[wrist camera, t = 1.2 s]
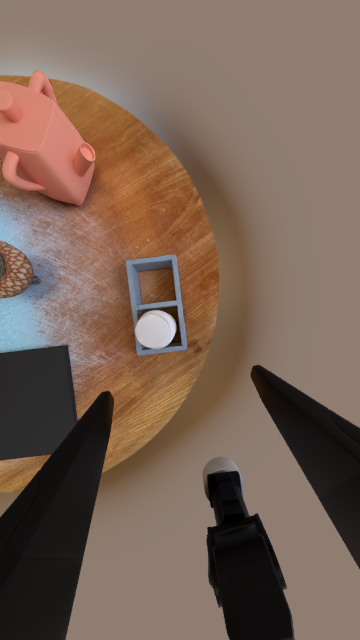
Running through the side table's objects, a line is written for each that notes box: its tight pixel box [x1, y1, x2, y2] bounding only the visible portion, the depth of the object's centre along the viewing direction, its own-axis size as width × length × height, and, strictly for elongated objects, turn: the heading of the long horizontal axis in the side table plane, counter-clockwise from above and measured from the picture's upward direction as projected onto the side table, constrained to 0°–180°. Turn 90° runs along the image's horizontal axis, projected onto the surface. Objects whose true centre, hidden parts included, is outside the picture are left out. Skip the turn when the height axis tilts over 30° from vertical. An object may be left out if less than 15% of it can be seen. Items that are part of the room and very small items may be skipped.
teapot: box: [0, 71, 95, 206], centre depth 21 cm, size 14×12×10 cm
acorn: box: [0, 241, 41, 298], centre depth 21 cm, size 8×8×10 cm
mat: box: [0, 345, 77, 460], centre depth 26 cm, size 19×20×1 cm
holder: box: [126, 255, 187, 356], centre depth 25 cm, size 15×8×4 cm, turn 7°
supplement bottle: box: [135, 310, 176, 349], centre depth 22 cm, size 5×5×10 cm
